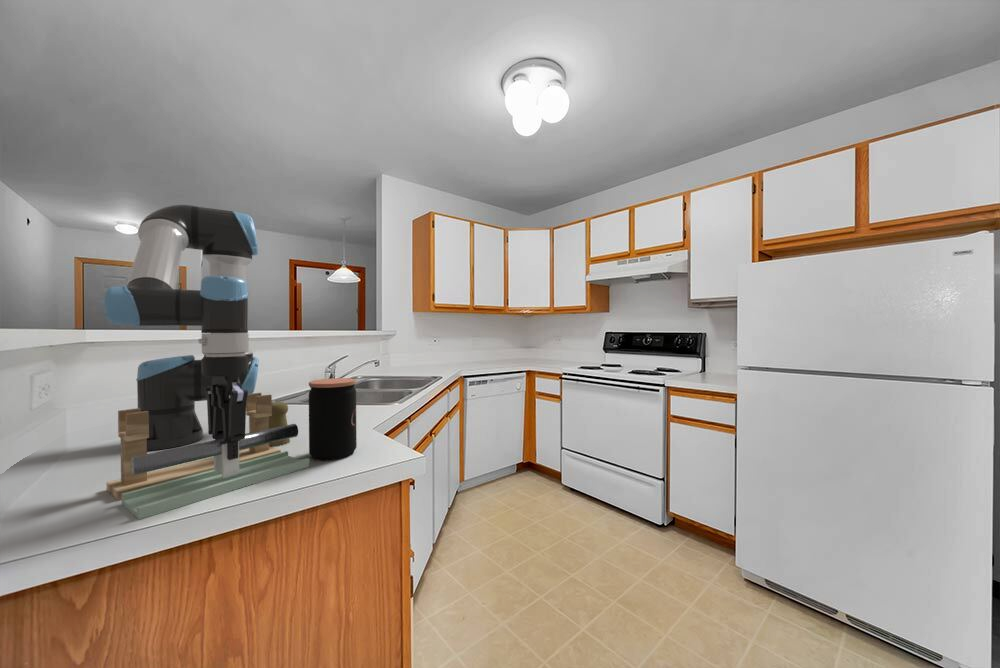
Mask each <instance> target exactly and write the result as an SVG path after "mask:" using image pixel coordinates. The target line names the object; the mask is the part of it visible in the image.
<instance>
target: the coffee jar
mask: <svg viewBox="0 0 1000 668" xmlns="http://www.w3.org/2000/svg"><path fill="white" fill-rule="evenodd" d="M356 384H357V380H356V379H355V378H350V377H349V378H348V377H347V378H346V377H344V378H343V377H342V378H339V377H338V378H337V377H335V378H320V379H315V380H310V381H309V382H308V387H309V388H310V390H309V392H308V454H309V455H310V456H311V458H313V460H316V461H334V460H340V459H344V458H347V457H350V456H351V455H353V454H354V452H355V450H356V449H357V447H358V445H357V443H358V442H357V390H356V388H355V385H356Z"/></svg>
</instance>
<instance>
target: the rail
mask: <svg viewBox="0 0 1000 668" xmlns="http://www.w3.org/2000/svg"><path fill="white" fill-rule="evenodd" d="M298 435H299V428H298V425H297V424H296V423H291V424H287V425H285V426H281V427H276V428H271V429H266V430H261V431H256V432H252V433H249V432H248V433H245V439H242V440H240V441H239V451H241V450H245V449H249V448H251V447H255V446H259V445H264V444H268V443H272V442H276V441H281V440H285V439H289V438H290V439H293V438H296V437H298ZM221 441H224V438H223V439H218V440H215V439H213V440H209V441H204V442H200V443H195V444H188V445H183V446H178V447H176V448H175V447H173V448H168V449H165V450H160V451H155V452H151V453H147V454H145V455H140V456H135V457H132V458H131V471H132V474H133V475H137V474H141V473H145V472H147V473H148V472H152V471H156V470H160V469H165V468H169V467H173V466H177V465H182V464H186V463H190V462H194V461H198V460H203V459H207V458H211V457H214V456H217V455H221V454H222V445H220V442H221Z"/></svg>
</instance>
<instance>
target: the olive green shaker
mask: <svg viewBox="0 0 1000 668" xmlns="http://www.w3.org/2000/svg"><path fill="white" fill-rule="evenodd" d="M288 411H289V406H288V404H287V402H284V401H275V402H272V416H269V429H271V428H276V427H281V426H285V425H288V420H287V412H288ZM289 442H291V438H289V439H285V440H281V441H276V442H272V443H269V446H274V447H281V446H284V444H285V445H288V444H290V443H289ZM287 443H288V444H287ZM280 445H281V446H280Z"/></svg>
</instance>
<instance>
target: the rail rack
mask: <svg viewBox="0 0 1000 668" xmlns="http://www.w3.org/2000/svg"><path fill="white" fill-rule="evenodd" d="M272 397H273V395H272V394H264V395H263V394H262V392H253V393H252V394H248V396H247V400H246V416H247V417H248V429H249V430H248V433H252V432H256V431H261V430H266V429H269V416H272V403H273V401H272V400H273V399H272ZM117 426H118V428H117V430H118V431H117V433H118V437H119V438H120V479H119V478H118V479H115V480H112V481H111V480H110V481H106V491H107V492H108V493H109V494H110V495H111V496H112V497H114V498H115V500H116V501H122V494H123V493H127V492H130V491H134V490H138V489H142V488H146V487H149V486H153V485H157V484H161V483H165V482H169V481H172V480H176V479H180V478H184V477H188V476H192V475H195V474H199V473H203V472H207V471H211V470H214V456H213V457H209V458H204V459H200V460H196V461H192V462H187V463H183V464H179V465H175V466H171V467H166V468H162V469H158V470H154V471H149V472H145V473H141V474H137V475H133V474H132V471H131V458H132V457H135V456H140V455H145V454H148V452H147V451H148V450H147V438H149V411H143V412H141V409H140V408H138V407H137V408H128V409H122V410H120V409H119V410H118V412H117ZM280 452H282V450H281V449H278V448H274V447H270V446H269V443H268V444H264V445H259V446H255V447H251V448H247V449H242V450H239V463H241V462H245V461H249V460H253V459H257V458H260V457H264V456H268V455H272V454H276V453H280Z"/></svg>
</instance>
